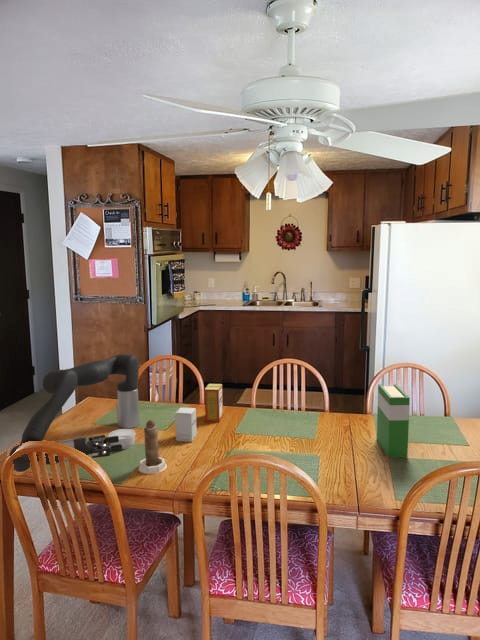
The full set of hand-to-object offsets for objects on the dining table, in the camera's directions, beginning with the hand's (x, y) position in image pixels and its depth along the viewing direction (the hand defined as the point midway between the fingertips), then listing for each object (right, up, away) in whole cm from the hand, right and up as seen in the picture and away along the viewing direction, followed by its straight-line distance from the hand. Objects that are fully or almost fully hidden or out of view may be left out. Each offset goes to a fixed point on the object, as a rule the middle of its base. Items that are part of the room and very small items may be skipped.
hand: (120, 442), depth 179 cm
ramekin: (-6, -8, +29) cm, 31 cm away
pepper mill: (+11, -11, +6) cm, 16 cm away
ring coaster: (+11, -12, +6) cm, 17 cm away
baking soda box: (+31, -3, +59) cm, 66 cm away
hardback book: (+104, -8, +22) cm, 107 cm away
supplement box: (+20, -7, +35) cm, 41 cm away
